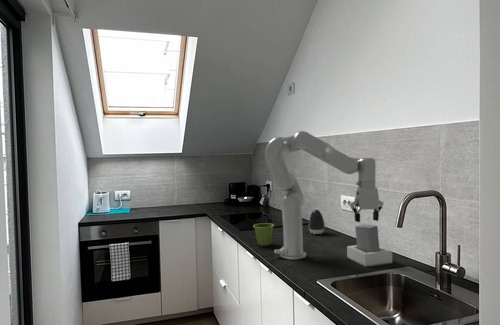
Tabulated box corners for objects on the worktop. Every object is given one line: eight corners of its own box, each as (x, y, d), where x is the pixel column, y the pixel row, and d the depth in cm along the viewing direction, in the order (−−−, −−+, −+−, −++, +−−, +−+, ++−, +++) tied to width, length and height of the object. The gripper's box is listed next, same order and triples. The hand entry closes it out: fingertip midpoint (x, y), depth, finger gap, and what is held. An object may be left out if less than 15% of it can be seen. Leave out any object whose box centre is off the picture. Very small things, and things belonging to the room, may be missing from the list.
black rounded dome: (324, 231, 226) (323, 208, 225) (326, 235, 215) (325, 210, 215) (308, 232, 227) (307, 208, 226) (309, 235, 216) (308, 211, 216)
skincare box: (380, 260, 162) (379, 225, 162) (369, 262, 159) (368, 228, 158) (366, 255, 169) (365, 223, 169) (355, 258, 166) (354, 225, 166)
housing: (365, 266, 155) (365, 254, 155) (347, 257, 170) (346, 246, 169) (392, 263, 159) (392, 251, 159) (372, 254, 173) (372, 243, 173)
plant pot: (260, 241, 206) (259, 222, 206) (278, 243, 200) (277, 224, 200) (249, 246, 196) (249, 226, 196) (268, 248, 190) (267, 228, 190)
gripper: (354, 185, 157) (354, 223, 158) (387, 184, 162) (387, 221, 163) (346, 184, 165) (346, 220, 165) (377, 183, 169) (377, 218, 170)
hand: (366, 220), depth 164 cm, fingers open, 9 cm apart
